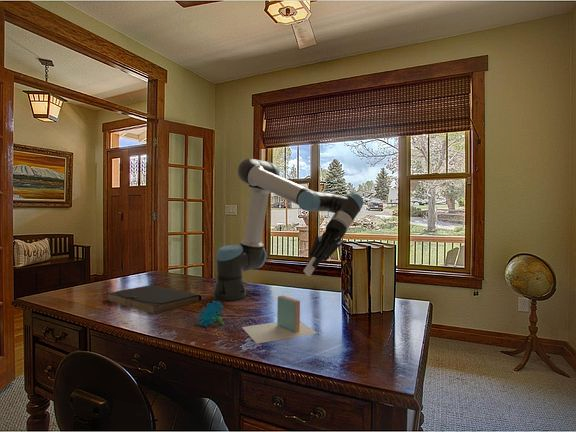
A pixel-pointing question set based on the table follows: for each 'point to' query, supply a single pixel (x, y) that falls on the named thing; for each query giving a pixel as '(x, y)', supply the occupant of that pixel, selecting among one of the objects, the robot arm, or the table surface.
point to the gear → (211, 314)
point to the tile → (288, 313)
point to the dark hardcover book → (153, 298)
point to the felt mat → (275, 332)
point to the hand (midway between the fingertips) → (306, 273)
